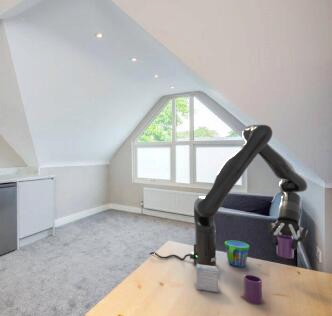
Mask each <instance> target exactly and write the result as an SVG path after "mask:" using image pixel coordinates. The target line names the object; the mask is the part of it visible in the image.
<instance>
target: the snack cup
mask: <svg viewBox="0 0 332 316" xmlns="http://www.w3.org/2000/svg"><path fill="white" fill-rule="evenodd" d="M224 246H225V251H226V257H227V262H228V264H230V265H231V266H234V267H241V268H243V267H246V265H247V261H248V254H249V250H250V245H249V244H248V243H246V242H244V241H240V240H233V239H231V240H226V241H224Z"/></svg>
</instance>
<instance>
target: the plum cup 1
mask: <svg viewBox="0 0 332 316" xmlns="http://www.w3.org/2000/svg"><path fill="white" fill-rule="evenodd" d="M243 299H244V300H245V301H246V302H248V303H251V304H255V305H261V304H262V303H263V280H262V278H261V277H259V276H257V275H254V274H245V275H243Z"/></svg>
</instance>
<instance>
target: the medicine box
mask: <svg viewBox="0 0 332 316" xmlns="http://www.w3.org/2000/svg"><path fill="white" fill-rule="evenodd" d="M195 274H196V276H195V283H196V284H195V285H196V289H197V290H199V291H208V292H213V293H219V270H218V267H217V265H216V266H208V265H199V264H195Z"/></svg>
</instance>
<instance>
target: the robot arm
mask: <svg viewBox="0 0 332 316" xmlns="http://www.w3.org/2000/svg"><path fill="white" fill-rule="evenodd" d="M272 137H273V129H272V127H271V126H269V125H267V124H251V125H248V126H246V127H245V128H244V129H243V131H242V138H243V140H244V141H245V144H243V146H242V147H241V149H239V150H238V151H237V152H235V153H234V154H232V155H231V156H230V157H229V158H228V159H226V161H224V162H223V164H222V166H221V167H220V169H219V170H218V172H217V174H216V177H215V179H214V182H213V185H212V187H211V188H210V189H209V191H208V192H207V194H206V195H205V196H199V197H197V198H196V199H195V201H194V203H193V219H194V220H193V222H194V229H195V230H194V238H195V239H194V240H195V243H194V244H193V251H192V252H189V253H188V254H185V255H184V256H183V258H182V257H180V256H179V255H176V254H169V255H167V256H166V255H165V256H162V255H159V254H158V253H157V252H155V251H151V252H150V253H149V255H155V256H157V257H158V258H160V259H169V258H172V257H175V258H177V259H178V260H181V261H184V260H185V259H186V258H188V257H189V259H191V260H193V264H195V265H196V264H199V265H208V266H216V267H217V234H216V233H217V231H216V229H217V227H216V224H215V218H214V216H215V215H216V214H217V212H219V209H220V208H221V206H222V204H223V202H224V200H225V199H226V197H227V196H228V195H229V193H231V191H232V190H233V188H234V187H235V186H236V184H237V183H238V181H239V180H240V179H241V178H242V176H243V175H244V173H245V172H246V171H247V169H248V168H249V166H250V165H251V163H252V162H253V161H254V159H255V158H256V157H257V156H258V155H259V156H260V157H261V159H262V160H263V161H264V162H265V163H266V165H267V166H268V168H269V169H270V170H271V171H272V173H273V174H274V176H275V177H276V178H277V179H280V180H281V181H279V182H278V183H279V184H278V187H279V191H280V196H281V198H280V205H279V207H278V214H277V220H276V221H275V222H271V221H268V222H267V226H268V227H267V228H268V234H269V236H270V237H272V244H273V245H274V246H275V247H277V235H285V234H286V235H288V236H291V237H293V238H294V239H293V249H294V251H295V250H296V249H298V248H299V242H300V243H304V242H305V240H306V237H307V235H308V232H309V231H308V227H306V226H304V227H302V226H300V218H301V217H300V216H301V196H300V194H298V193H302V192H305V191H307V189H308V183H307V181H306V179H304V178H303V176H301V175H299V174H298V173H297V172H296V171H295V170H293V169H292V167H291V166H290V165H289V163H288V162H287V160H286V159H285V158H284V157H283V156H282V155H281V154H279V153H278V152H277V151H276V150H275V149H274V148H272V146H270V144H269V142H270V141H271V139H272ZM275 227H276V230H275V231H274V232H273V229H274V228H275ZM298 231H300V233H301V234H300V236H298V235H297V232H298ZM154 253H155V254H154Z"/></svg>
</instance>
